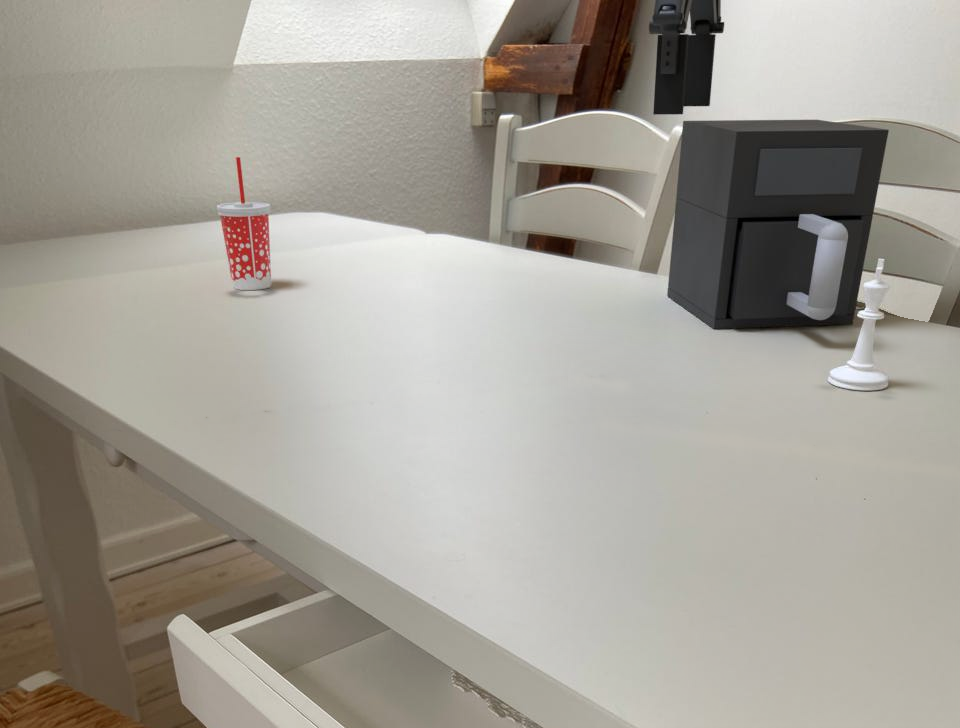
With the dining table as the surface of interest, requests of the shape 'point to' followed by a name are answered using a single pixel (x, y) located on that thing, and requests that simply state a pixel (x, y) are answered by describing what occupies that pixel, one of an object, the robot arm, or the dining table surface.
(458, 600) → the dining table surface
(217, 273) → the dining table surface
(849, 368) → the chess piece
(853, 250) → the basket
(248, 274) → the beverage cup
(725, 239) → the fryer
